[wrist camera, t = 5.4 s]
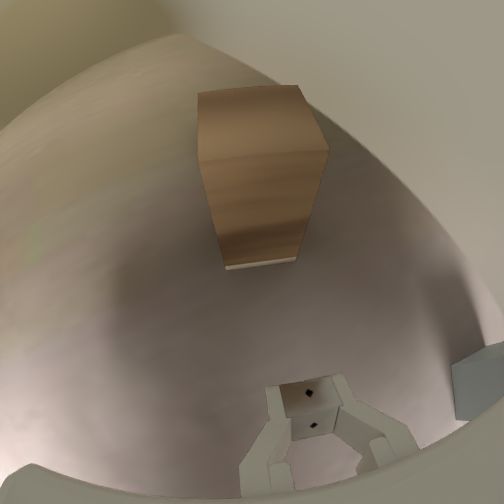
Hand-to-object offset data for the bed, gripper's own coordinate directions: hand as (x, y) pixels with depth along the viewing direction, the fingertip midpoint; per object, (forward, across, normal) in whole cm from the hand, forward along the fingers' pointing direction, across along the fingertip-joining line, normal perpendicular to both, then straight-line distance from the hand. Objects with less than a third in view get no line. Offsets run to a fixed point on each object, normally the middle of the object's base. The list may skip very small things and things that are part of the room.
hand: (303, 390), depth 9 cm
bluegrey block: (+2, -16, +9) cm, 18 cm away
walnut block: (+13, 0, -2) cm, 13 cm away
